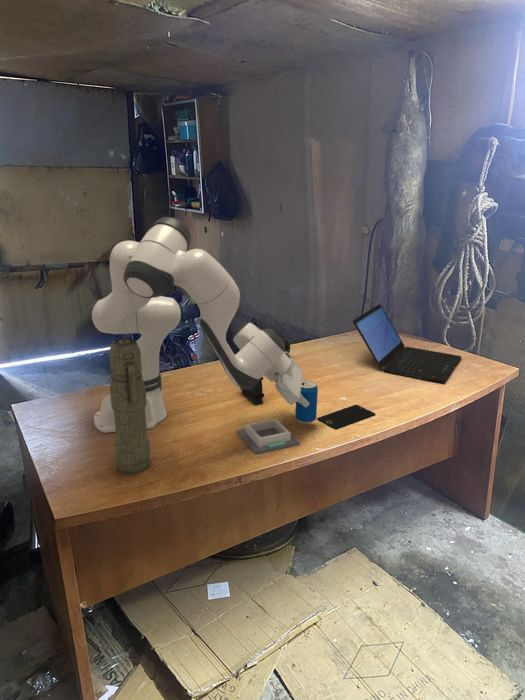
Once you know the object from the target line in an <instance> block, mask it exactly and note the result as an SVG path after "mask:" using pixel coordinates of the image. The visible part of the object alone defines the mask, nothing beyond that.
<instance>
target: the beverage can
mask: <svg viewBox="0 0 525 700" xmlns="http://www.w3.org/2000/svg"><path fill="white" fill-rule="evenodd" d="M318 390H319V388H318V385H317V383H316V381H313V380H309V379H305V380H304V379H303V381H302V385H301V395H302V397H304V398H305V399H307V400H308V401H309V402H310V403H309V406H307V407H304V406H303V405H302V404H300V403H298V402H296V403H295V409H294V410H295V414H294V415H295V416H294V419H296V420H297V421H298V422H299V423H302V424H310V423H313V422H315V421H316V420H317V414H318V413H317V409H318V394H319V393H318V392H319V391H318Z"/></svg>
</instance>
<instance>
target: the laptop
mask: <svg viewBox="0 0 525 700" xmlns="http://www.w3.org/2000/svg"><path fill="white" fill-rule="evenodd" d="M352 323H353V325H354V326H355V328H356V330H357V333H359V335H360V336H361V338H362V340H363V342H364V344H365V345H366V347H367V349H368V350H369V352H370V354H371V356H372V357H373V359H374V361H375V362H376V364H377V366H378V367H379V369H380V370H381V371H384V372H385V373H389V374H395V375H400V376H403V377H409V378H415V379H420V380H425V381H430V382H436V383H440V384H444V383H445V382H446V381H447V379H448V378H449V376H451V373H452V372H453V371H454V370H455V368H456V366H457V365H458V364H459V362H460V361H461V359H462V355H457V354H452V353H445V352H441V351H435V350H434V351H433V350H429V349H423V348H417V347H411V346H405V344H404V342H403V340H402V338H401V337H400V335H399V334H398V331H397V330H396V328H395V327H394V324H393V323H392V321H391V319H390V317H389V316H388V314H387V312H386V311H385V310H384V308H383V306H382V305H381V304H380V303H379V304H377V305H375V306H373V307H372V308H370V309H369V310H368V311H365V312H364V313H362V314H361V315H359V316H358V317H356V318H355V319H352Z"/></svg>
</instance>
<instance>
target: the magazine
mask: <svg viewBox="0 0 525 700" xmlns="http://www.w3.org/2000/svg"><path fill="white" fill-rule="evenodd" d="M263 380H264V376H262V377H261V379H260V380H259V382H258V383H257V384H256V385H255V386H254V388H251V389H240V390H241V393H242V395H243V396H244V397H245V398H247V399H248V400H249V401H250V402H251V403H252V404H253V405H254V406H256V405H262V404H264V402H263V401H264V398H265V393H264V392H263Z"/></svg>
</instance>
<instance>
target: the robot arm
mask: <svg viewBox="0 0 525 700" xmlns="http://www.w3.org/2000/svg"><path fill="white" fill-rule="evenodd" d="M191 240H192V233H191V231H190V229H189V228H188V227H187V225H185V224H184V223H183V222H182V221H180V220H179V219H177V218H175V217H171V216H170V217H169V216H162V217H161V218H159V219H158V220H156V221H155V222H154V223H153V224H152V225H150V227H149V228H148V229H147V230H146V231H145V232H144V236H143V237H142V238H141V240H140V241H135V240H124V241H121V242H119V243H117V244H116V245H114V247H113V248H112V250H111V252H110V257H109V274H110V275H109V276H110V281H111V292H110V293H109V294H108V295H107V296H105V297H103V298H101V299H99V300H97V301H96V303H95V304H94V306H93V308H92V311H91V319H92V322H93V325H94V327H95V328H96V329H97V330H98V331H99V332H101V333H105V334H113V335H125V334H126V335H127V334H129V335H130V334H140V335H141V336H140V338H138V339H137V340H135V341H136V342H137V344H138V347H139V349H140V352H141V366H142V370H141V373H142V379H143V381H144V383H145V388H146V406H145V416H146V430H147V429H148V430H149V429H154V428H155V427H156V425H157V424H158V423H160V422H161V421H163V420H164V419H166V417H167V415H168V413H167V412H168V411H167V409H166V407H165V404H164V400H163V394H162V386H163V383H162V382H163V381H162V374H161V372H160V350H161V347H162V345H163V342H164V340H165V339H166V338H167V336H168V335H169V334H170V333H171V332H172V331H174V329H176V328H177V326H178V325H179V323H180V321H181V318H182V311H181V307H180V305H179V303H178V302H177V300H175V299H174V297H170V296H169V297H168V296H163V295H170V294H173V292H174V291H175V286H177V287H180V288H182V289H183V290H185V291H186V293H187V294H188V295H189V297H190V298H191V299H192V300H193V301H194V302H195V303H196V305H197V306H198V309H199V312H200V321H199V323H198V324H199V327H200V330H201V332H202V333H203V335H204V337H205V340H206V341H207V342H208V344H209V346H210V347H211V349H212V351H213V352H214V354H215V355H216V358H217V359H218V361H219V362H220V364H221V365H222V368H223V370H224V372H225V373H226V376H227V378H228V380H229V381H230V382H231V383H232V385H234V386H235V387H236V388H239V390H241V389H251V388H254V386H255V385H256V384H257V383H258V382H259V380H260V379H261V377H265V378H266V379H267V380H268V381H269V382H271V383H272V382H273V383H275V385H274V387H275V390H276V391H277V392H278V394H279V395H280V396H281V397H282V398H283V399H284V400H285V401H286V403H287V404H289V405H291V406H293V405H294V404H296V402H298V403H300V404H302V405H303V406H304V407H307V406H309V403H310V402H309V401H308V400H307V399H305V398H304V397H302V395H301V385H302V381H303V380H304V371H303V370H302V369H301V367H300V366H299V365H298V363H297V362H296V361H295V360H294V359H293V358H292V355H291V353H290V352H289V353H288V352H284V351H285V342H284V341H283V340H282V339H281V338H282V337H280V336H279V335H278V334H277V333H276V332H275V330H273V328H266V329H260V328H259V327H257V326H256V325H255V324H254V323H252V322H248V323H247V322H246V323H245V324H244V325H243V326H242V327H241V328H240V329H238V331H237V332H236V333H235V334H234V337H233V339H232V340H233V342H234V344H235V346H237V348H238V349H239V351H238V352H237V353H235V354H234V351H233V350H232V348H231V346H230V345H229V342H227V331H228V329H229V326H230V324H231V322H232V321H233V319H234V316H235V314H236V313H237V311H238V309H239V306H240V300H241V292H240V288H239V286H238V285H237V284H236V282H235V280H234V279H233V277H232V276H231V275H230V274H229V272H228V271H227V270H226V269H225V267H223V266H222V265H221V263H220V262H219V261H218V260H216V258H214V257H213V256H212V255H211V254H210V253H208V252H207V251H206V250H204V249H201V248H193V249H189V248H190V245H191V242H192V241H191ZM100 405H101V406H100V410H99V411H97V412H96V413H95V414H94V415H93V424H94V427H95V428H96V430H98V431H99V432H101V433H104V434H105V433H106V434H107V433H116V431H115V420H114V411H113V409H112V407H111V397H110V393H109V394H108V395H107V396H106V397H104V398H103V399H102V401H101V404H100Z"/></svg>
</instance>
